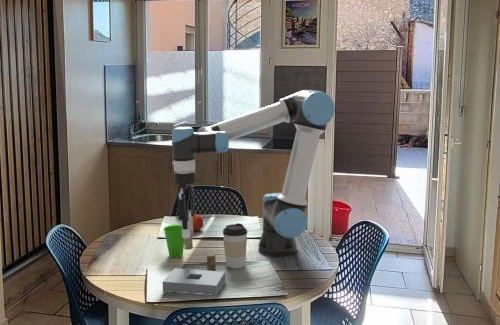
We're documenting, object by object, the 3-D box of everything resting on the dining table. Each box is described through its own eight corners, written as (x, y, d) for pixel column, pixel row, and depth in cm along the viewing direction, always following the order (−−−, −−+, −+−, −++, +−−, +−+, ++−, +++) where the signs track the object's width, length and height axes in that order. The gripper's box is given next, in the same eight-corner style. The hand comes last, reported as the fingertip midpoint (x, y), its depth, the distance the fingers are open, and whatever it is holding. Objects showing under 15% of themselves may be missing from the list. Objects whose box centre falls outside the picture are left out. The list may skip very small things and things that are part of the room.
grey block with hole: (225, 281, 186) (225, 271, 185) (216, 295, 174) (216, 285, 173) (174, 277, 189) (174, 268, 188) (162, 291, 177) (162, 281, 177)
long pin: (193, 247, 196) (191, 209, 194) (191, 249, 193) (189, 211, 191) (185, 246, 197) (183, 209, 194) (183, 249, 194) (181, 211, 191)
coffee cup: (238, 271, 195) (238, 230, 192) (218, 266, 200) (217, 227, 197) (252, 263, 203) (252, 224, 200) (232, 259, 207) (231, 221, 205)
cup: (183, 260, 206) (182, 232, 204) (160, 258, 208) (159, 230, 206) (190, 252, 215) (190, 225, 213) (168, 250, 217) (168, 224, 215)
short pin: (216, 270, 196) (216, 254, 195) (214, 273, 193) (214, 257, 192) (208, 269, 196) (208, 253, 195) (206, 272, 194) (205, 256, 192)
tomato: (179, 233, 239) (179, 215, 238) (185, 227, 248) (185, 210, 247) (200, 234, 238) (199, 216, 236) (205, 228, 247) (204, 211, 245)
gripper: (181, 167, 198) (184, 229, 203) (166, 176, 183) (170, 242, 187) (201, 167, 197) (204, 229, 201) (188, 176, 182) (191, 243, 186)
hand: (187, 235), depth 194 cm, fingers closed on long pin, 3 cm apart
